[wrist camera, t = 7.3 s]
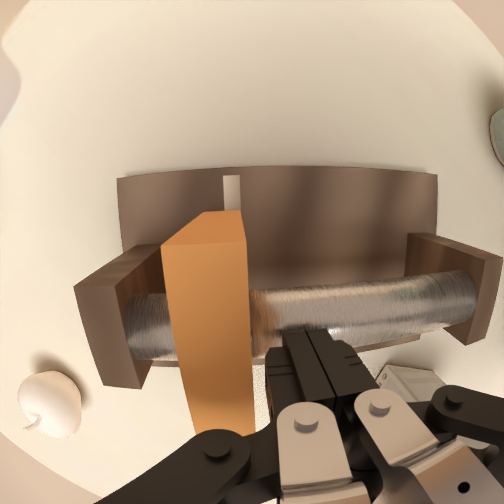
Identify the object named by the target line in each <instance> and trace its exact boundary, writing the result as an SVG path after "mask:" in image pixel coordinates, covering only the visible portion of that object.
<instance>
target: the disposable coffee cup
mask: <svg viewBox="0 0 504 504" xmlns="http://www.w3.org/2000/svg"><path fill="white" fill-rule="evenodd" d="M490 134H491V142H492V145H493V147H494V150H495V153H496V156H497V158H498V159H499V160H500V162H501V163H502V164H503V166H504V108H502V109H500V110H498V111H497V112H495V114H494V115H493V116H492V117H491V122H490Z"/></svg>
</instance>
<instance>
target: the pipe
mask: <svg viewBox="0 0 504 504" xmlns="http://www.w3.org/2000/svg"><path fill="white" fill-rule="evenodd" d="M477 299H478V295H477V288H476V284H475V282H474V280H473V278H472V277H471V275H470V274H469V273H467V272H466V271H463V270H456V271H448V272H441V273H433V274H425V275H417V276H409V277H400V278H391V279H381V280H372V281H362V282H351V283H340V284H328V285H316V286H303V287H289V288H274V289H258V290H249V311H250V332H251V353H252V359H257V358H265V355H266V353H267V351H268V350H269V348H270V347H282V334H283V332H292V331H302V330H304V331H305V330H311V329H320V328H326V329H327V330H328V332H329V333H330V335H331V337H332V338H333V340H343V341H344V342H346V343H347V344H349V345H351V346H352V347H359V346H364V345H370V344H375V343H380V342H385V341H390V340H395V339H400V338H404V337H409V336H413V335H417V334H421V333H425V332H429V331H433V330H437V329H440V328H444V327H448V326H451V325H455V324H458V323H461V322H465V321H467V320H469V319H470V318H471V317H472V315H473V314H474V312H475V309H476V306H477ZM125 332H126V339H127V344H128V347H129V349H130V352H131V354H132V355H133V356H134V358H136V359H140V360H166V361H178V358H177V353H176V347H175V342H174V337H173V331H172V326H171V320H170V314H169V308H168V301H167V294H166V293H159V294H134V295H133V296H132V297H131V298H130V300H129V302H128V305H127V309H126V316H125Z"/></svg>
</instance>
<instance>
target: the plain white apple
mask: <svg viewBox="0 0 504 504" xmlns="http://www.w3.org/2000/svg"><path fill="white" fill-rule="evenodd" d="M18 403H19V406H20V408H21V410H22V411H23V413H24V414H25V416H26V417H27V419H28V420H29V421H30V422H31V423H32V424H31V425H30V426H28V427H25V428H23V429H24V430H25V431H29V430H32V429H34V428H37V429H38V430H39V431H40V432H42V433H44V434H46V435H48V436H51V437H53V438H56V439H66V438H69V437H71V436H72V435H74V434H75V433H76V432H77V430H78V429H79V427H80V423H81V395H80V391H79V389H78V388H77V386H76V385H75V384H74V382H73V381H72V380H71V379H70V378H68V377H67V376H65V375H64V374H62V373H60V372H58V371H47V372H42V373H38V374H34V375H31V376H29V377H27V378H26V379H25V380H24V381H23V382H22V384H21V385H20V387H19V390H18Z"/></svg>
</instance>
